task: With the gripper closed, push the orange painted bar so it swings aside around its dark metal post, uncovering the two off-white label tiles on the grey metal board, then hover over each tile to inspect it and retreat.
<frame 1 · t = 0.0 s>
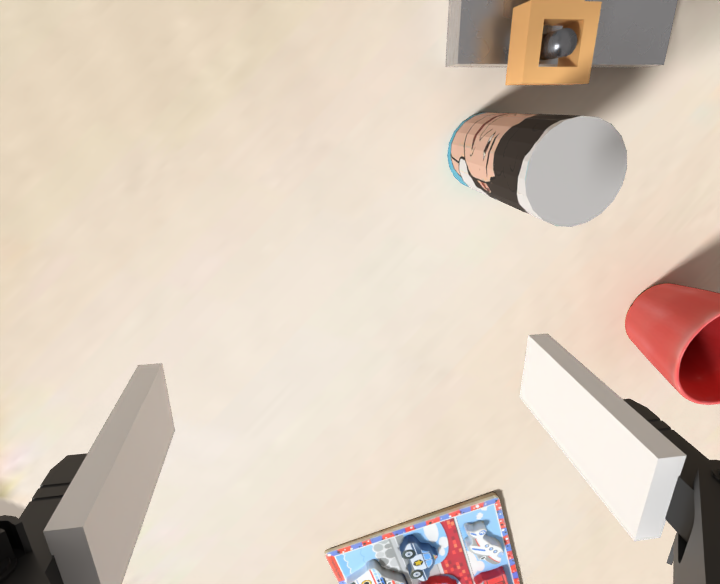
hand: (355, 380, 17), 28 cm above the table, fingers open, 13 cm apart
printed cylinder: (482, 151, 43), on the table
flower pot: (654, 313, 52), on the table
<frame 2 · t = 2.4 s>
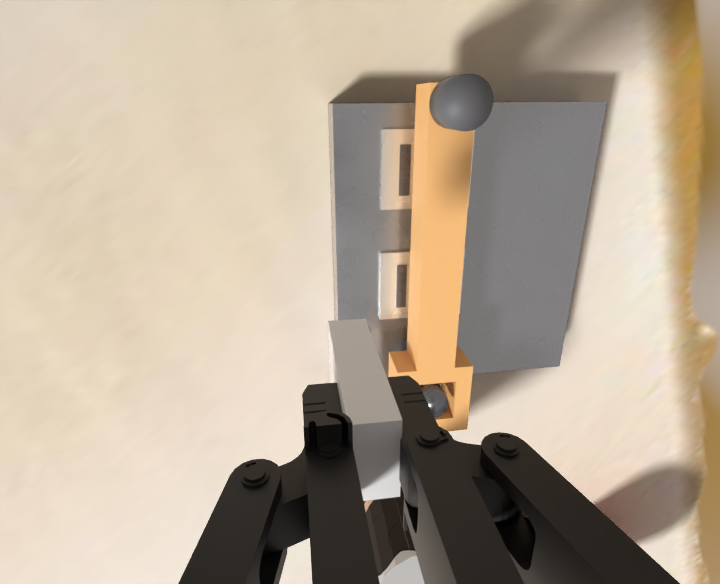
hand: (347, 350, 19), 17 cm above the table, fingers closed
printed cylinder: (382, 427, 42), on the table
board: (449, 243, 36), on the table
bar: (440, 279, 29), point 7 cm above the table, hinge at 0.0°
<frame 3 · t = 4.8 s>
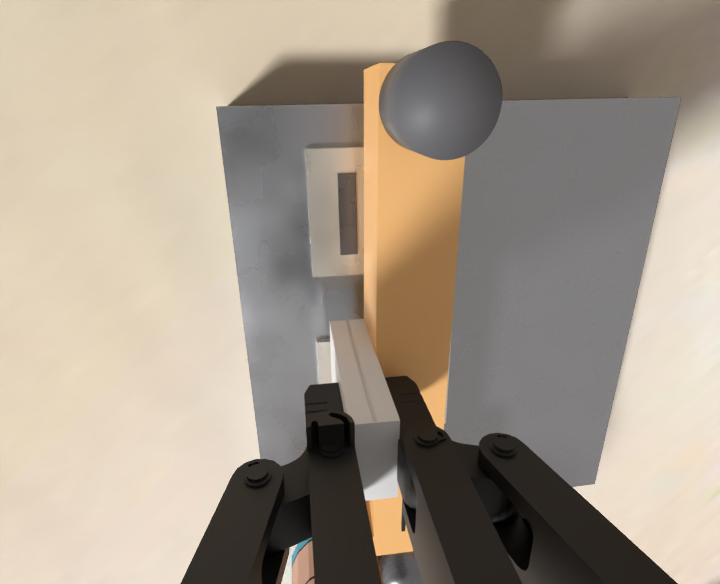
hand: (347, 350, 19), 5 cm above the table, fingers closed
printed cylinder: (344, 555, 30), on the table
board: (430, 311, 24), on the table
bar: (408, 401, 17), point 7 cm above the table, hinge at 0.9°, touching gripper
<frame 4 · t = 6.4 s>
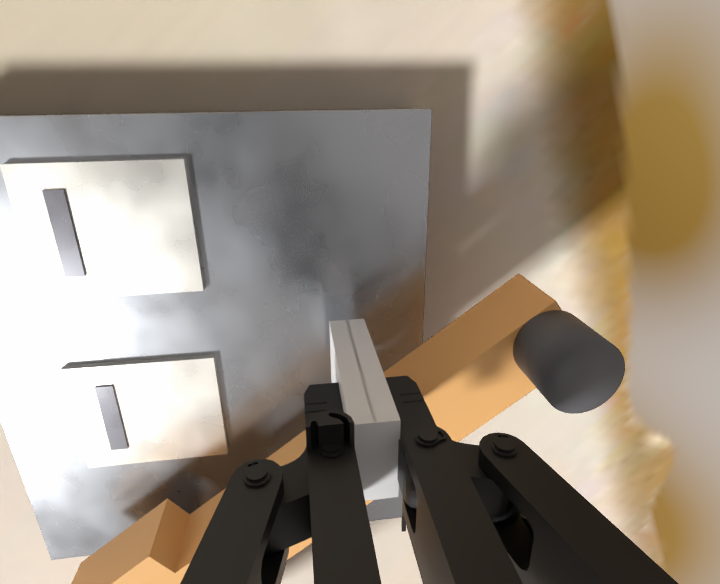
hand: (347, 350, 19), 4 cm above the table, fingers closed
board: (225, 333, 23), on the table
bar: (322, 496, 18), point 7 cm above the table, hinge at 53.4°, touching gripper
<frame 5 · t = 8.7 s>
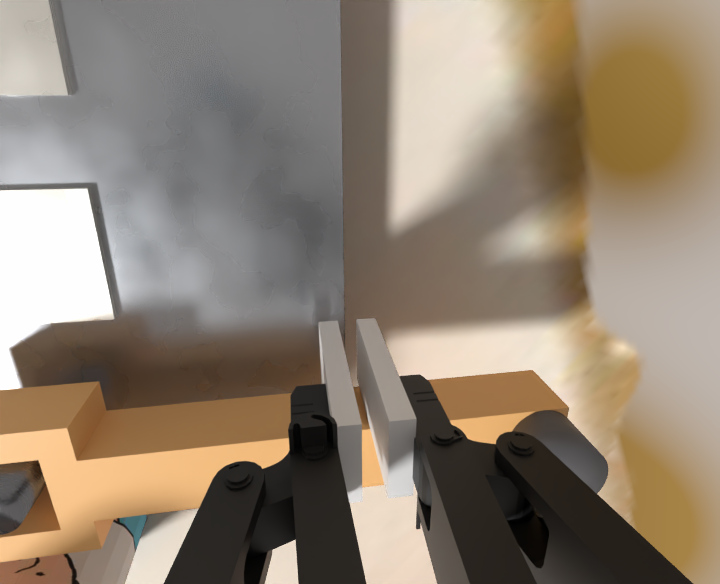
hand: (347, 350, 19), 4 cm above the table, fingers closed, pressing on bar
printed cylinder: (81, 510, 25), on the table
board: (120, 188, 19), on the table
bar: (273, 464, 17), point 7 cm above the table, hinge at 89.4°, touching gripper
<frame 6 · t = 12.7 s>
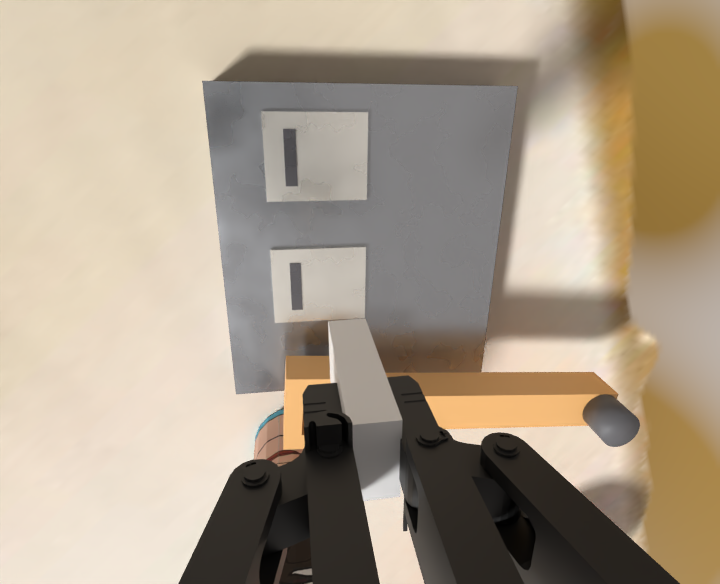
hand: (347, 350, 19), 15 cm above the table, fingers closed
printed cylinder: (296, 438, 39), on the table
board: (358, 240, 33), on the table
bar: (459, 409, 31), point 7 cm above the table, hinge at 94.7°
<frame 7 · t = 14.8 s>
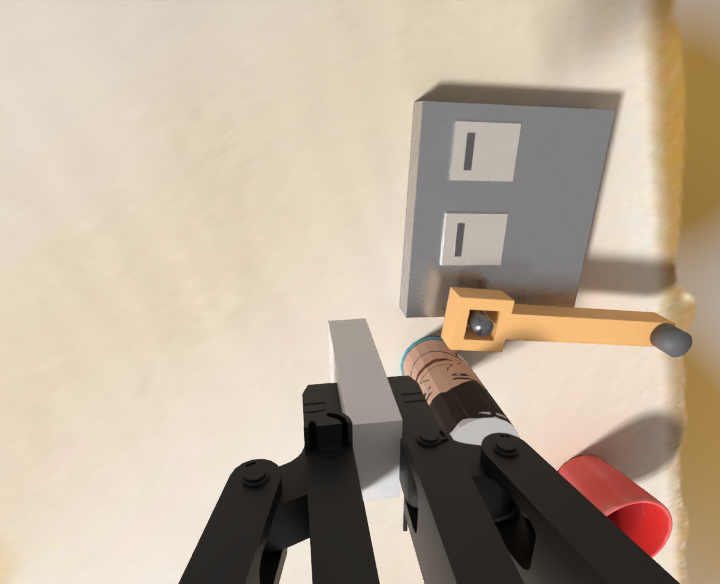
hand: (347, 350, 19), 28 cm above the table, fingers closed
printed cylinder: (429, 362, 52), on the table
flower pot: (577, 476, 62), on the table
board: (492, 212, 47), on the table
bar: (567, 328, 45), point 7 cm above the table, hinge at 94.7°
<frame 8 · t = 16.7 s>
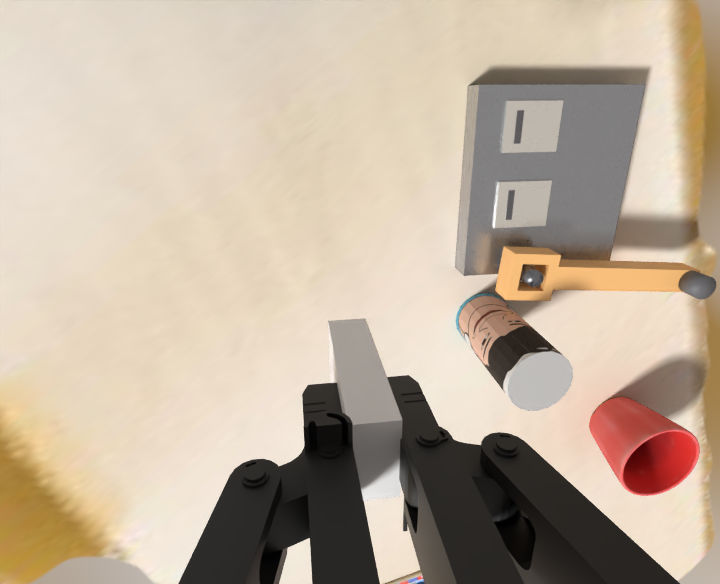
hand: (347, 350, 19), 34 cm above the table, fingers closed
printed cylinder: (480, 317, 59), on the table
flower pot: (611, 417, 69), on the table
board: (536, 180, 54), on the table
bar: (606, 278, 51), point 7 cm above the table, hinge at 94.7°
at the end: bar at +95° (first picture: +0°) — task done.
